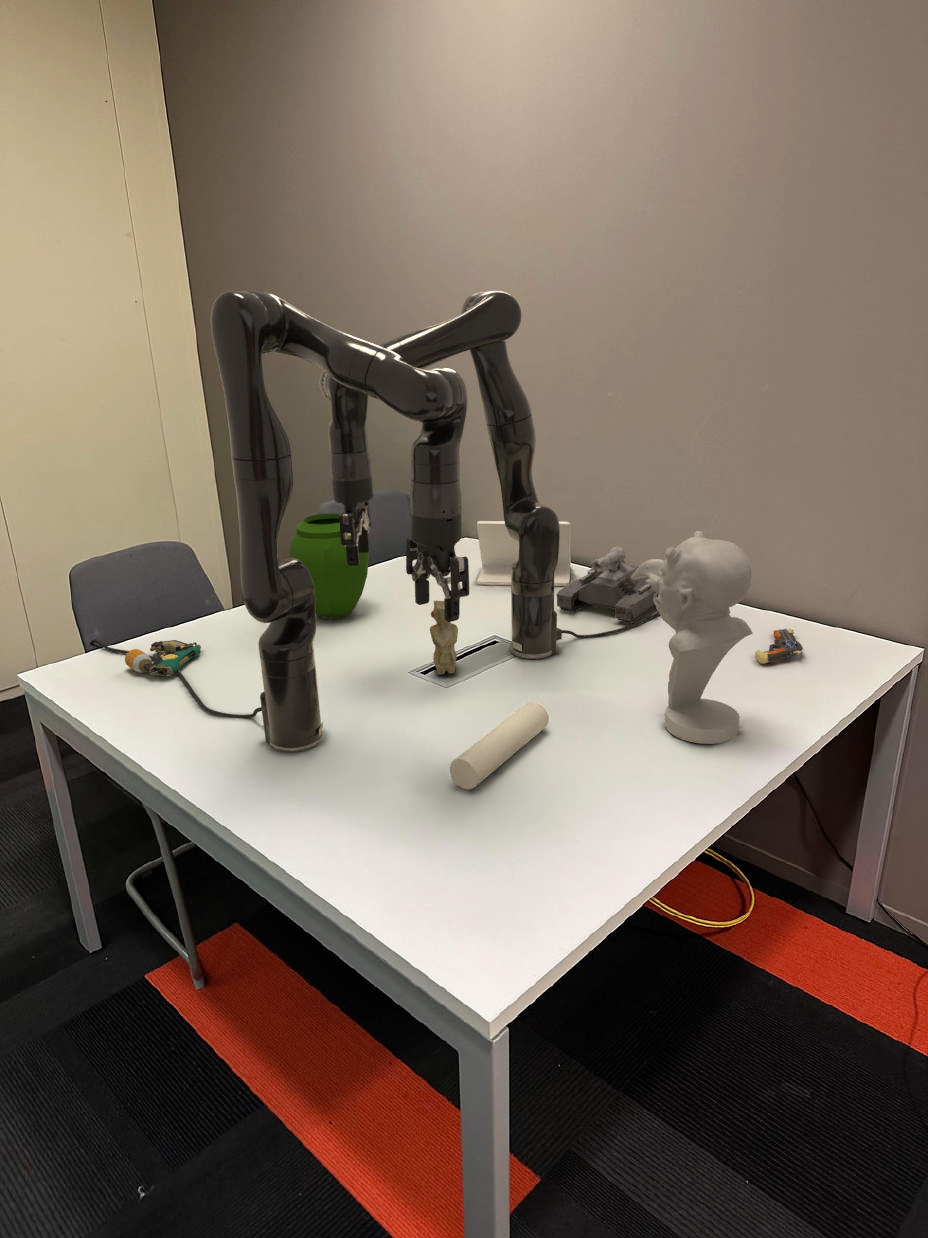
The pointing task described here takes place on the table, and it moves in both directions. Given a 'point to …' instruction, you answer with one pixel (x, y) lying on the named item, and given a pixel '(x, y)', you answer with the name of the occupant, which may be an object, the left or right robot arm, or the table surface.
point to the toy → (610, 589)
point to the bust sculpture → (699, 629)
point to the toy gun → (780, 646)
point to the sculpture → (443, 640)
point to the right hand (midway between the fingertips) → (359, 558)
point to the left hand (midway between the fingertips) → (436, 611)
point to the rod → (498, 745)
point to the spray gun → (162, 657)
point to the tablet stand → (514, 554)
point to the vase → (329, 565)
